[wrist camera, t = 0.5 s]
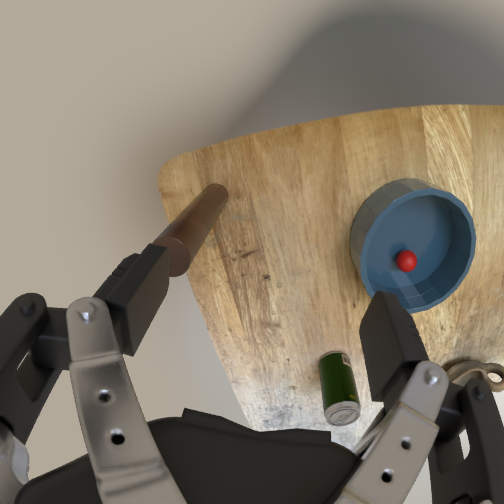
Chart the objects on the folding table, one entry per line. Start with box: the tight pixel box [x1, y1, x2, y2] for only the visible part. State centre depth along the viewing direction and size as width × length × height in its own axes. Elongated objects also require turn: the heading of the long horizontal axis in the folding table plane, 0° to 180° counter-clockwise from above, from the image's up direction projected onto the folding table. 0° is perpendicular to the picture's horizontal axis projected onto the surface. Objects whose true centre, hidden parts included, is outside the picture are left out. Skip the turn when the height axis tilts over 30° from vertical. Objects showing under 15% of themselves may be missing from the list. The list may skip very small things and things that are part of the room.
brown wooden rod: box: [152, 184, 228, 277], centre depth 29 cm, size 3×3×18 cm
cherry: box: [396, 250, 417, 272], centre depth 37 cm, size 3×3×3 cm
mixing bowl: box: [350, 178, 476, 314], centre depth 35 cm, size 17×17×6 cm
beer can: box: [319, 351, 361, 426], centre depth 42 cm, size 5×5×12 cm
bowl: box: [446, 360, 504, 392], centre depth 43 cm, size 14×18×10 cm
